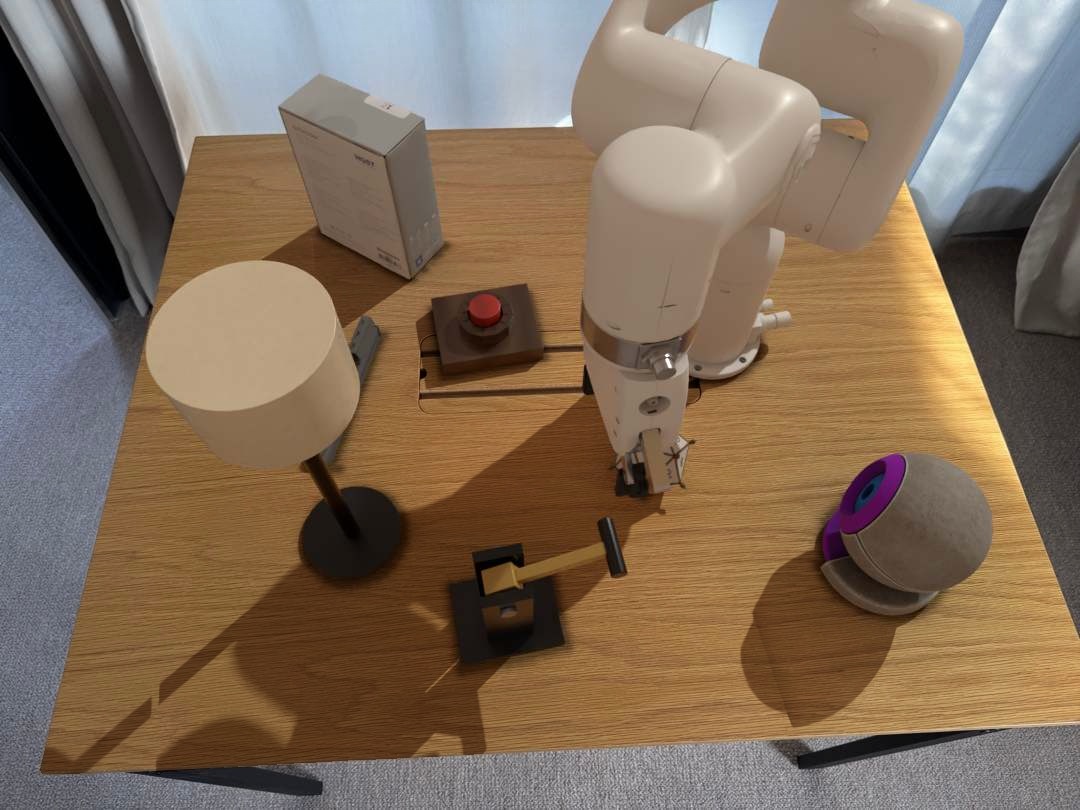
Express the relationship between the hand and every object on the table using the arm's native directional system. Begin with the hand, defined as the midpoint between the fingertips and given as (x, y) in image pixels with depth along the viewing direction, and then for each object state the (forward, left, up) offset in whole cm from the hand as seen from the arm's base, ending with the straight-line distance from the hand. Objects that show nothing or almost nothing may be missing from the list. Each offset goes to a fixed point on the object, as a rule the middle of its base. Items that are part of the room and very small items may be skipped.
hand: (616, 437), depth 64 cm
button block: (+7, -27, -20) cm, 35 cm away
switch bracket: (+11, +7, -20) cm, 24 cm away
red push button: (+7, -27, -16) cm, 33 cm away
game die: (-7, -5, -20) cm, 22 cm away
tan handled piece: (+6, +7, -9) cm, 13 cm away
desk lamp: (+25, -4, -20) cm, 32 cm away
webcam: (-28, +9, -20) cm, 35 cm away
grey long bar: (+24, -21, -20) cm, 38 cm away
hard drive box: (+18, -45, -20) cm, 53 cm away
